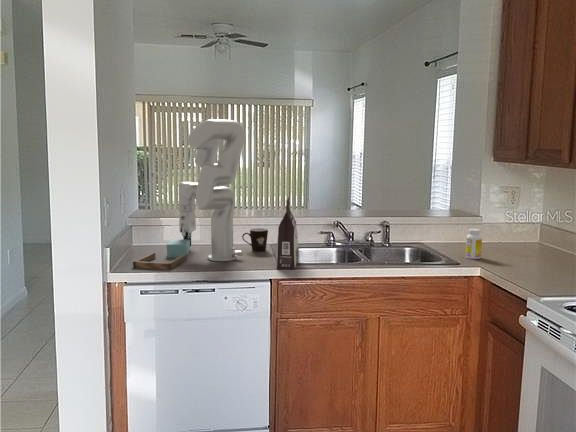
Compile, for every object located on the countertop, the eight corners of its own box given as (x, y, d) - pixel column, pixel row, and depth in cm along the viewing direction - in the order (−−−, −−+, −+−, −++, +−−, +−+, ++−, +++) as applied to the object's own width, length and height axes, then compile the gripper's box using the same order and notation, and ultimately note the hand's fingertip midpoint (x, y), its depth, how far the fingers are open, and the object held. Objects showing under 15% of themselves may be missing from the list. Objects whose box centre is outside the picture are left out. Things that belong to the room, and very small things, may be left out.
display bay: (187, 259, 227) (187, 254, 227) (170, 269, 209) (169, 263, 209) (152, 258, 230) (152, 252, 230) (133, 267, 212) (132, 261, 212)
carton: (190, 252, 244) (189, 239, 244) (186, 257, 233) (186, 244, 232) (171, 252, 244) (171, 239, 243) (167, 257, 232) (166, 244, 231)
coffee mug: (269, 249, 251) (269, 228, 250) (266, 252, 243) (266, 231, 241) (245, 248, 253) (245, 227, 251) (241, 251, 244) (241, 230, 243)
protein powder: (297, 269, 211) (297, 200, 208) (275, 269, 212) (275, 200, 208) (298, 260, 228) (299, 196, 224) (278, 260, 228) (278, 196, 224)
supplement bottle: (481, 257, 237) (483, 229, 235) (480, 260, 231) (482, 231, 229) (466, 255, 240) (467, 228, 238) (464, 258, 234) (465, 230, 232)
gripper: (188, 210, 238) (189, 250, 241) (200, 206, 253) (200, 243, 256) (173, 209, 240) (173, 249, 242) (185, 205, 254) (185, 242, 257)
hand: (187, 246), depth 249 cm, fingers closed
